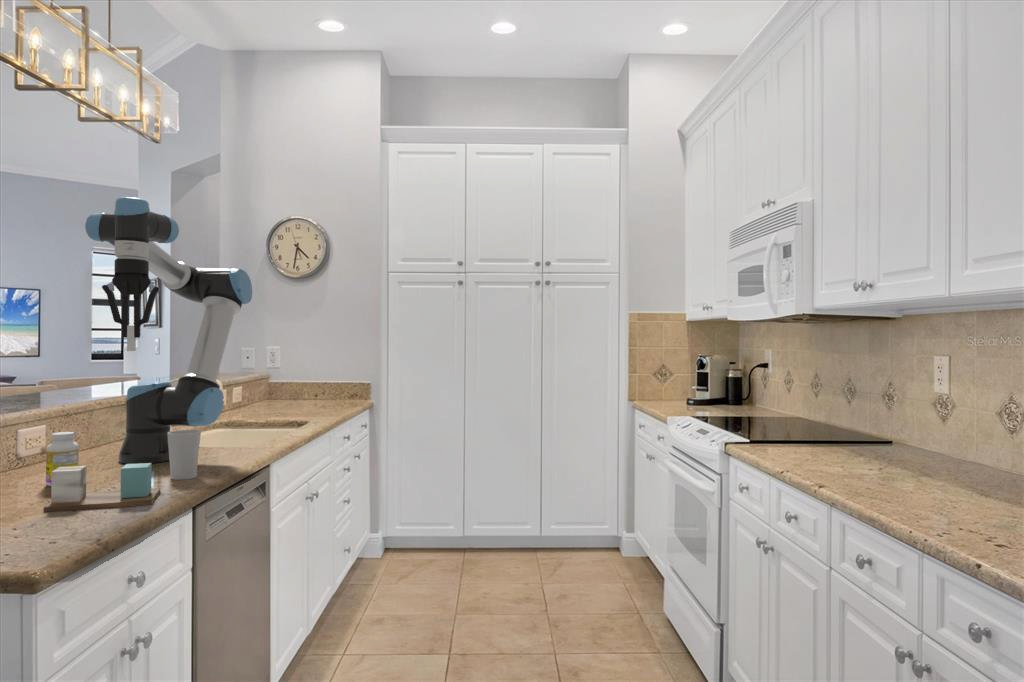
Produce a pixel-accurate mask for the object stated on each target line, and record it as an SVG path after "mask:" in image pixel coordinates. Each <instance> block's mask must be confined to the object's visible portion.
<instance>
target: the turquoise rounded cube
mask: <svg viewBox="0 0 1024 682" xmlns="http://www.w3.org/2000/svg"><path fill="white" fill-rule="evenodd" d="M152 464H153V463H140V464H127V463H125V464H124V465H123V466H122V467H121V468H120V491H121V497H120V498H129V497H145V496H148V494H149V493H150V492H151V489H152V471H153V470H152V469H153V467H152Z"/></svg>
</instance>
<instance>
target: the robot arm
mask: <svg viewBox="0 0 1024 682" xmlns="http://www.w3.org/2000/svg"><path fill="white" fill-rule="evenodd" d="M114 203H115V204H114V212H113V213H112V212H111V213H110V212H100V213H99V212H98V213H92V214H89V216H87V218H86V221H85V225H84V228H85V232H86V234H87V236H88V238H90V239H91V240H92V241H96V242H108V243H109V244H111V245H112V246H113V247H114V256H115V257H116V258H115V259H114V275H113V278H112V279H111V281H110V282H108V283H107V284H103V285H102V286H101V288H102V290H103V291H104V293H105V294H106V296H107V300H108V304H109V307H110V311H111V314H112V318H113V322H114V323H117V324H120V325H122V328H121V329H122V335H121V336H122V338H125V339H126V352H135V351H136V348H137V347H136V346H137V344H136V342H137V340H136V339H137V338H138V339H140V337H141V326H142V325H144V324H147V323H149V321H150V317H151V314H152V311H153V307H154V304H155V301H156V300H155V299H156V297H157V295H158V294H159V293H160V291H161V288H160V287H159V286H156V285H154V284H153V283H152V281H151V279H150V275H149V272H150V273H151V274H153V275H154V276H156V278H158V279H160V281H161V283H162V285H163V286H164V287H165V288H166V289H168V290H169V291H171V292H173V293H175V294H176V295H178V296H180V297H182V298H184V299H187V300H189V301H191V302H196V303H201V304H203V306H204V307H205V310H204V313H203V316H202V320H201V322H200V325H199V329H198V332H197V336H196V340H195V343H194V347H193V350H192V352H191V357H190V360H189V363H188V367H187V370H186V373H185V375H182V376H180V377H179V378H178V381H177V384H176V386H173V385H172V383H171V382H170V381H164V382H155V383H153V382H152V383H146V384H138V385H137V384H136V385H135V384H134V385H132V386H130V387H128V389H127V390H126V391H127V392H126V398H125V399H126V400H125V403H126V410H125V411H126V414H125V415H126V419H125V420H126V421H125V423H126V424H125V428H126V429H125V438H124V440H123V442H122V444H121V448H120V450H119V452H118V462H119V463H121V464H140V463H152V464H155V463H162V462H168V461H169V447H168V435H167V433H168V432H171V426H173V427H174V426H177V427H178V426H179V427H193V428H196V427H197V428H198V427H207V426H210V425H212V424H213V423H215V422H216V421H217V420H218V419H219V417H220V416H221V414H222V412H223V409H224V404H225V402H224V398H225V396H224V393H223V391H222V390H221V389H220V387H221V385H220V384H219V383H218V381H217V378H218V375H219V373H220V372H219V371H220V368H221V363H222V361H223V360H222V359H223V356H224V353H225V349H226V346H227V342H228V338H229V334H230V331H231V327H232V323H233V319H234V316H235V315H237V314H239V313H240V312H241V309H242V306H243V305H246V304H249V303H251V300H252V297H253V285H252V281H251V278H250V276H249V274H248V272H246V270H244V269H242V268H233V267H228V268H225V267H223V268H222V267H221V268H220V267H219V268H217V267H197V266H196V267H195V266H189V264H187V263H186V262H183V261H178V260H177V259H175V258H174V257H173V256H171V255H170V254H169V253H168V252H167V251H165V249H163V248H161V247H160V246H159V245H157V244H170V243H172V242H174V241H175V240H176V239H177V238H178V237H179V234H180V233H179V232H180V227H179V225H178V223H177V221H176V220H175V219H174V218H172V217H170V216H167V215H166V214H160V213H157V212H153V211H150V209H151V208H150V205H149V202H148V201H147V200H146V199H143V198H139V197H131V196H130V197H129V196H125V197H124V196H122V197H118V198H116V200H115V202H114ZM155 242H156V243H157V244H156V243H155ZM115 288H116V289H117V291H118V292H119V293H120V294H121V302H122V303H121V309H122V310H121V312H122V313H120V311H119V307H118V304H117V303H118V302H117V299H116V295H115V293H114V291H115ZM147 289H148V292H149V294H148V297H147V301H146V305H145V307H144V311H143V315H142V311H141V310H142V307H141V306H142V304H141V303H142V295H143V294H144V293H145V291H147ZM131 295H132V296H133V324H132V325H131V323H130V299H131ZM121 314H122V315H121Z"/></svg>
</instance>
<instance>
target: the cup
mask: <svg viewBox="0 0 1024 682" xmlns="http://www.w3.org/2000/svg"><path fill="white" fill-rule="evenodd" d="M201 432H202V430H196V429H183V430H179V429H178V430H172V431H171V430H170V432H168V433H167V435H168V447H169V472H170V473H169V479H170V480H180V481H181V480H188V479H189V480H190V479H194V478H197V477H198V463H199V450H200V444H201V443H200V442H201V435H202V433H201Z"/></svg>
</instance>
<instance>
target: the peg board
mask: <svg viewBox="0 0 1024 682" xmlns="http://www.w3.org/2000/svg"><path fill="white" fill-rule="evenodd" d="M87 467H88V465H79V466H72V467H59V468H57V469H55V470H54V471H52V487H51V486H50V487H51V488H50V489H51V492H50V493H51V495H50V496H51V500H50V502H49V503H47V504H46V505H45V506H44V507H43V513H49V512H50V513H51V512H63V511H78V510H93V509H109V508H124V507H137V506H138V505H141V506H151V505H153V503H154V502H155V500H156V499H157V497H158V496H159V495H160V493H161V488H160V487H157V488H155V487H154V488H151V492H150V493H149V494H148V496H145V497H129V498H120V497H121V490H109V491H107V490H105V491H92V492H91V491H89V492H87ZM138 507H139V506H138Z"/></svg>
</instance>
